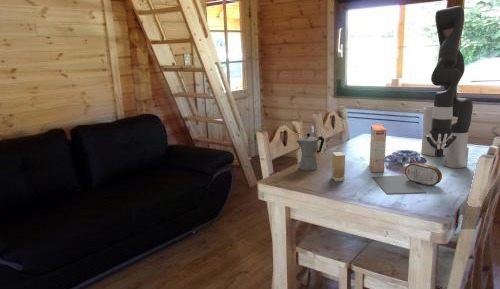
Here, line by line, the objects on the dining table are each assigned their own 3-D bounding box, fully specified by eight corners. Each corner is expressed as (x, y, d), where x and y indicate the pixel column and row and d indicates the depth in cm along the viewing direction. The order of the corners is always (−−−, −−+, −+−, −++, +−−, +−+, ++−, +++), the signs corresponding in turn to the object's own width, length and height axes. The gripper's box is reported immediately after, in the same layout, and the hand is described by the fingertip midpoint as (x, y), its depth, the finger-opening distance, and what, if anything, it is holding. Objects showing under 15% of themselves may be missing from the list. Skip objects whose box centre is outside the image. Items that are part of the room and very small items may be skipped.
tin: (440, 186, 168) (443, 167, 166) (438, 188, 165) (440, 169, 163) (406, 178, 178) (408, 160, 176) (403, 179, 176) (405, 161, 174)
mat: (406, 176, 182) (406, 175, 182) (426, 192, 161) (426, 192, 161) (371, 177, 183) (371, 176, 183) (387, 194, 161) (387, 193, 161)
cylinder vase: (442, 150, 222) (446, 106, 216) (449, 156, 210) (453, 110, 204) (418, 150, 224) (421, 106, 218) (424, 156, 212) (427, 110, 206)
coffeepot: (301, 172, 194) (300, 136, 190) (292, 167, 203) (292, 132, 198) (328, 168, 199) (329, 133, 195) (319, 163, 208) (319, 129, 203)
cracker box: (385, 173, 188) (386, 129, 183) (371, 172, 189) (373, 129, 184) (381, 164, 201) (383, 124, 196) (369, 164, 203) (370, 124, 198)
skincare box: (331, 177, 185) (331, 151, 182) (340, 176, 185) (340, 151, 182) (335, 181, 179) (335, 155, 176) (344, 181, 179) (345, 154, 176)
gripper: (453, 115, 169) (450, 154, 173) (422, 115, 169) (419, 155, 173) (462, 118, 161) (458, 159, 165) (429, 118, 162) (426, 159, 166)
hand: (438, 157), depth 169 cm, fingers closed
